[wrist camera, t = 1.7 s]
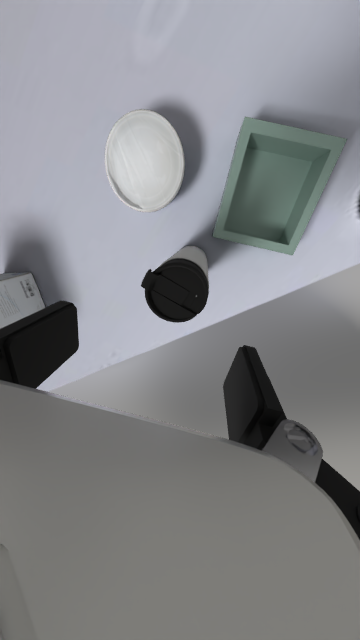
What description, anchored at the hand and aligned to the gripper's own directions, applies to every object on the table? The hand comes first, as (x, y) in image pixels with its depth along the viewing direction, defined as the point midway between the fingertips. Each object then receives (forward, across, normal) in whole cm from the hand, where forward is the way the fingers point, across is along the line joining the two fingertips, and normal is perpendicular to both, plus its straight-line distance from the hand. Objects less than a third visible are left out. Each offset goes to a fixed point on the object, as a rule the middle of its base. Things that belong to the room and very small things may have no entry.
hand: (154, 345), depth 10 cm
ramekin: (+28, +9, -13) cm, 32 cm away
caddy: (+28, -9, -13) cm, 32 cm away
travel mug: (+28, 0, -1) cm, 28 cm away
